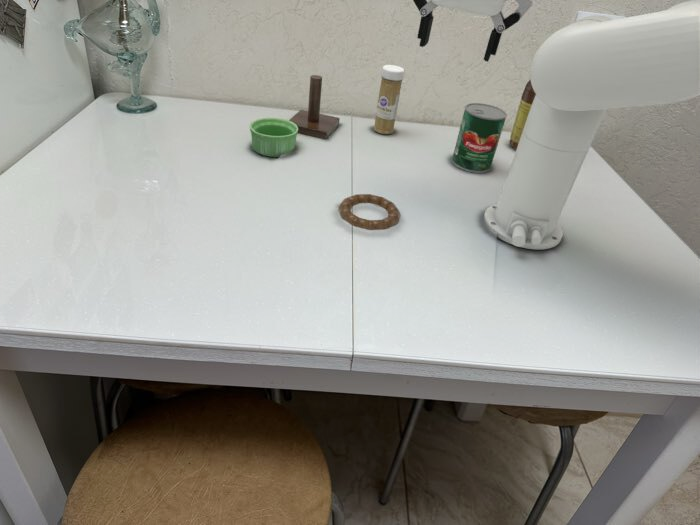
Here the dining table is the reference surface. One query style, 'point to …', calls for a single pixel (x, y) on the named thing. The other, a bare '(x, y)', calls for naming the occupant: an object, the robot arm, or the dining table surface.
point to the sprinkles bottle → (388, 98)
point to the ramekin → (273, 136)
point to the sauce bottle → (522, 114)
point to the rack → (315, 114)
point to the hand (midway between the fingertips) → (454, 52)
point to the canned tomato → (478, 137)
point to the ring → (364, 223)
